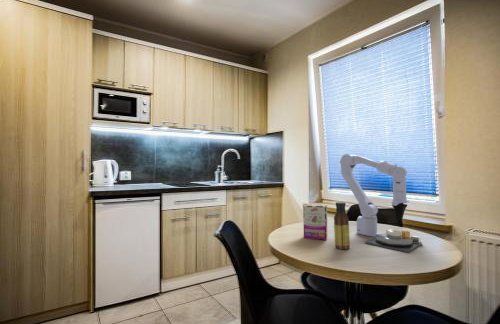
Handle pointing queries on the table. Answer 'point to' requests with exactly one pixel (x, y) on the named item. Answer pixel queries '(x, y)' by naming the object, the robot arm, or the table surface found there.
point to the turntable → (403, 241)
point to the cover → (393, 234)
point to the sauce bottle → (341, 227)
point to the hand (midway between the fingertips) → (399, 218)
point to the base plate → (407, 249)
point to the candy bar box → (315, 221)
